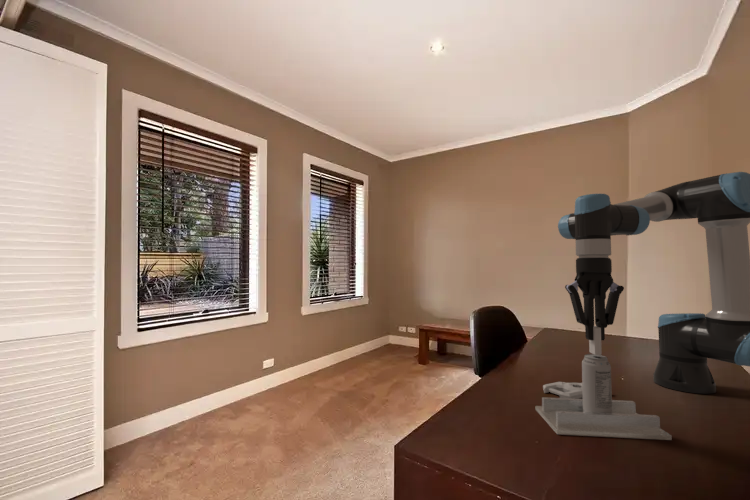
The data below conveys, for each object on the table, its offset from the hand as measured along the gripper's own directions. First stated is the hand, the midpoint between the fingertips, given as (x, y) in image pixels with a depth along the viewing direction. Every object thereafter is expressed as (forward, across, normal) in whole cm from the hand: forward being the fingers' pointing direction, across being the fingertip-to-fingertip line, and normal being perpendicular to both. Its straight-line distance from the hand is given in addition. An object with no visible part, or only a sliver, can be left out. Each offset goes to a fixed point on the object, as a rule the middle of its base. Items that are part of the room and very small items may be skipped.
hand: (595, 353), depth 87 cm
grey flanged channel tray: (+17, 0, 0) cm, 17 cm away
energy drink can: (+16, 0, 0) cm, 16 cm away
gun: (+17, -4, -22) cm, 28 cm away
